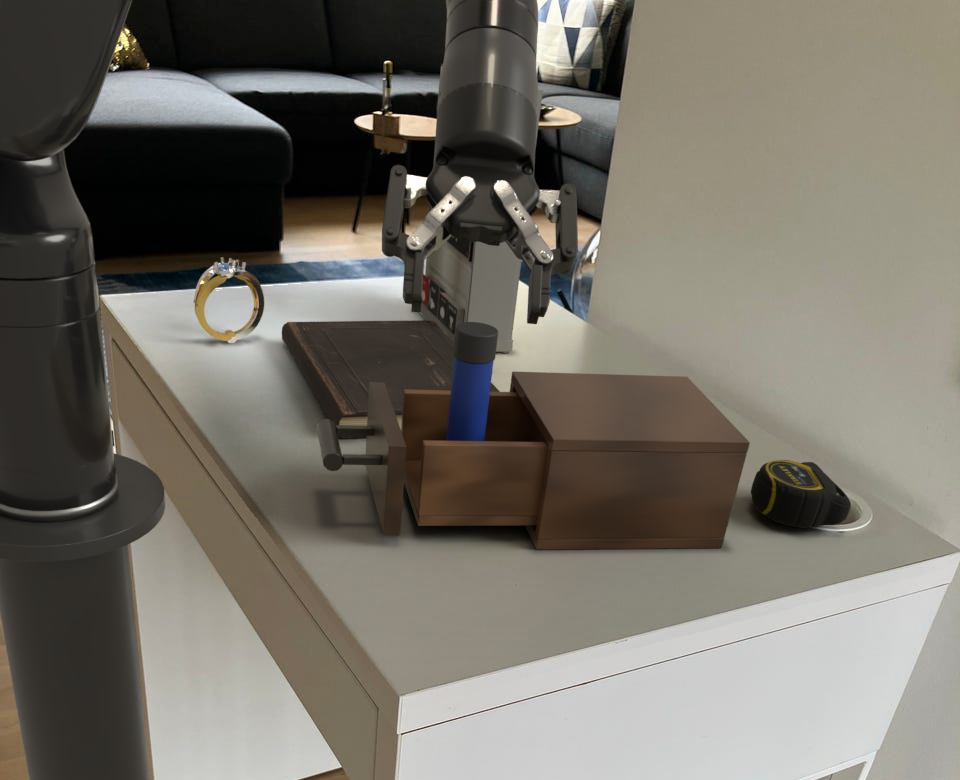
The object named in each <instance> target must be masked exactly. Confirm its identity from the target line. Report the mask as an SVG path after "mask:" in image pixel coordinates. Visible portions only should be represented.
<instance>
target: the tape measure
mask: <svg viewBox="0 0 960 780" xmlns="http://www.w3.org/2000/svg"><path fill="white" fill-rule="evenodd" d="M750 495H751V501H752V505H753V506H754V507H755V508H756V510H757V511H759V512H760V513H761V514H763V515H764V516H765V517H766V518H768V519H770V520H772V521H775V522H776V523H778V524H782V525H786V526H788V527H789V526H790V527H795V528H801V529H806V528H807V529H808V528H816V527H822V526H834V525H838V524H841V523H843V522H844V521H846V520H847V518H848V515H849V513H850V510H851V508H852V503H851V500H850V498H849V497H848V495H847V494H846V493H845V491H844V490H843V489H842V488H841V487H839V486H838V485H837V484H836V483H835V482H834V481H833V480H832V479H831V478H830V477H829V475H828V474H826V473H825V472H824V471H823V470H822V469H821V467H820V466H819V465H818V464H817V463H815V462H813V461H803V462H797V461H793V460H789V459H775V460H772V461H771V460H770V461H768V462H765V463H764V464H762V466H761V467H760V468H759V470H758V471H757V472H756V473H755V475H754V478H753V481H752V484H751V489H750Z"/></svg>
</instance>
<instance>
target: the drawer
mask: <svg viewBox="0 0 960 780" xmlns="http://www.w3.org/2000/svg"><path fill="white" fill-rule="evenodd" d="M450 395H451V391H450V390H410V389H404V393H403V408H402V423H401V429H400V426H399V423H398V420H397V417H396V414H395V412H394V409H393V406H392V403H391V400H390V397H389V394H388V391H387V388H386V385H385V382H369V396H368V417H367V426H361V425H336V426H335V423H334V422H333V421H332V420H330V419H329V418H323V419H321V420H319V421H318V422H317V424H316V432H317V437H318V438H317V439H318V443H319V449H320V453H321V459H322V464H323V467H324V468H325V469H326V470H327V471H330V472H336V471H339V470H340V469H341V468H342V467H343V466H365V468H366V473H367V476H368V480H369V485H370V488H371V492H372V496H373V500H374V504H375V507H376V512H377V516H378V519H379V524H380V527H381V532H382V535H383V536H400V535H401V526H402V513H403V501H404V486H405V489H406V492H407V496H408V498H409V502H410V505H411V508H412V511H413V514H414V517H415V522H416V524H417V526H418V527H448V526H449V527H457V526H459V527H460V526H461V527H463V526H465V527H468V526H469V527H473V526H476V527H477V526H483V527H485V526H487V527H488V526H491V527H493V526H496V527H497V526H525V525H537V520H538V514H539V507H540V501H541V494H542V487H543V481H544V474H545V468H546V461H547V455H548V448H549V445H548V443H547V442H546V440H545V438H544V436H543V435H542V433H541V431H540V430H539V428H538V426H537V425H536V423H535V421H534V420H533V418H532V416H531V414H530V413H529V411H528V409H527V408H526V406H525V404H524V403H523V401H522V399H521V398H520V396H519V394H518V392H510V391H500V392H490V396H489V404H488V413H487V422H486V430H485V439H484V441H446V437H447V427H448V416H449V405H450ZM339 435H346V436H367V437H366V438H365V441H366V442H365V454H364V453H362V454H357V453H342V450H341V449H342V448H341V445H340V440H339Z"/></svg>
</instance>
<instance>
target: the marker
mask: <svg viewBox="0 0 960 780" xmlns="http://www.w3.org/2000/svg"><path fill="white" fill-rule="evenodd" d="M497 339H498V330H497V329H496V328H495V327H493V326H491V325H488V324H484V323H479V322H464V323H460V324H458V325H456V327H455V337H454V347H453V355H454V363H453V373H452V384H451V395H450V405H449V416H448V427H447V437H446V441H484V439H485V430H486V422H487V413H488V404H489V396H490V387H491V383H492V377H493V369H494V361H495V360H496V356H497V352H496V348H497Z"/></svg>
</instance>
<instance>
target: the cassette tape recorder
mask: <svg viewBox="0 0 960 780" xmlns="http://www.w3.org/2000/svg"><path fill="white" fill-rule="evenodd" d="M442 67H443V63H441V64H440V74H439V77H440V76H441V71H442ZM543 92H544V90H543V89H542V88H539V87H538V105H537V126H536V142H537V140H538V133H539V132H538V131H539V124H540V118H541V117H540V116H541V108H542V102H543V101H542V100H543V94H544V93H543ZM536 147H537V145H536V146H535V150H536ZM433 166H434V162H433V165H432V167H433ZM431 210H432V207H431V206H430V205H429V212H430V211H431ZM522 262H523V261H522V260H521V259H518V258H517V257H516V256H515V254H514V253H513V252H512V250H511V249H510V247H509V246H508V245H507V243H506V242H503V243H500V246H493V245H487V244H485V243H482V242H472V243H463V242H458V239H457V238H455V237H453V236H451V237H450V238H449V239H448V240H447V241H446V242H445V243H444V244H443V245H442V246H441V247H440V248H439V249H438V250H437V251H435V250H434V251H433V252H432V253H431V254H430V255H429V256H428V257H427V258H426V259H425V269H424V271H425V273H423V288H422V302H421V313H420V314H421V315H422V316H423V317H424V318H425V319H426V320H433V321H434V322H435V323H436V324H437V325H438V326H439V327H440V328H441V329H442V330H443V331H444V332H445V333H446V334H447V336H448V337H449V338H450V339H451V340H452V341H453V342H454V337H455V327H456V325H458V324H460V323H464V322H479V323H484V324H488V325H491V326H493V327H495V328H496V329H497V330H498V339H497V348H496V353H497V352H500V353H503V354H507V353H510V352H512V351H513V345H514V340H513V332H514V331H513V330H514V325H515V324H514V323H515V316H516V315H515V314H516V308H517V299H518V294H519V293H518V291H519V284H520V275H521V269H522Z"/></svg>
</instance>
